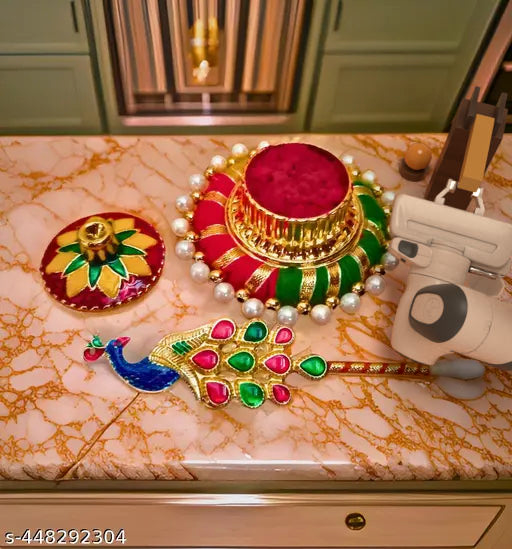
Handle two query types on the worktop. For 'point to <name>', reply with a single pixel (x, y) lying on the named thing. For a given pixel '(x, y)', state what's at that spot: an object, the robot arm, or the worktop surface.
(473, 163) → the pull rod
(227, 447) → the worktop surface
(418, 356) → the robot arm
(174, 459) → the worktop surface
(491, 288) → the cup
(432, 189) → the switch pillar
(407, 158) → the night lamp
